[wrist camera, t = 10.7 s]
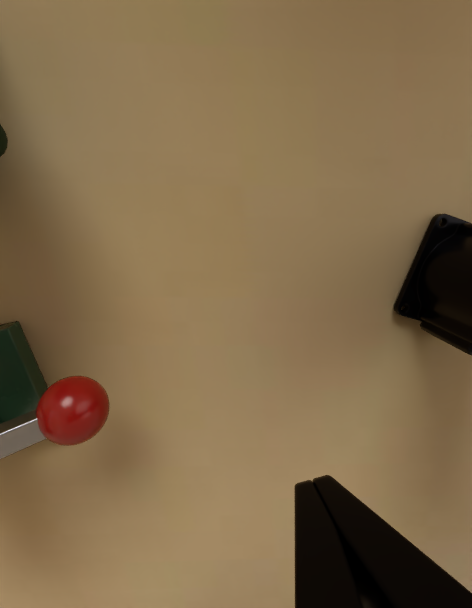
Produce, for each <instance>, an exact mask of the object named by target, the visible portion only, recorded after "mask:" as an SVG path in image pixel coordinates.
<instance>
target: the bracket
mask: <svg viewBox="0 0 472 608" xmlns="http://www.w3.org/2000/svg"><path fill="white" fill-rule="evenodd" d="M46 389H48V388H47V386H46V383H45V381H44V379H43V376H42V374H41V372H40V370H39V367H38V365H37V363H36V360H35V358H34V356H33V354H32V351H31V349H30V347H29V344H28V342H27V340H26V338H25V335H24V333H23V331H22V328H21V326H20V324H19V322H17V321H16V322H12V323H7V324H3V325H0V424H1V423H3V422H6V421H8V420H11V419H13V418H16V417H18V416H21V415H23V414H25V413H28V412H30V411H33V410H35V409H36V408H37V404H38V402H39V400H40V398H41V396H42V395H43V393H44V392H45V391H46Z"/></svg>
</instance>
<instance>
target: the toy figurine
mask: <svg viewBox="0 0 472 608" xmlns="http://www.w3.org/2000/svg"><path fill="white" fill-rule="evenodd" d="M6 148H7V136H6V133H5V131H4V129H3V128H2V126H1V125H0V157H1V156H2V155H3V154H4V153H5V150H6Z"/></svg>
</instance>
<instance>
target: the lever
mask: <svg viewBox="0 0 472 608" xmlns="http://www.w3.org/2000/svg"><path fill="white" fill-rule="evenodd" d="M108 414H109V398H108V395H107V393H106V391H105V389H104V388H103V387H102V386H101V385H100V384H99V383H98V382H97V381H95V380H93V379H91V378H88V377H84V376H71V377H66V378H63V379H61V380H59V381H57V382H55V383H54V384H52V385H51V386H50V387H49V388H48V389H46V391H45V392H44V393H43V395H42V396H41V398H40V400H39V402H38V404H37V408H36V409H35V410H33V411H30V412H28V413H25V414H23V415H21V416H18V417H16V418H13V419H11V420H8V421H6V422H3V423H1V424H0V459H2V458H4V457H6V456H9V455H11V454H13V453H15V452H18V451H20V450H22V449H24V448H27V447H29V446H31V445H33V444H35V443H38V442H40V441H42V440H44V439H48V440H49V441H51V442H53V443H56V444H59V445H67V446H69V445H76V444H80V443H83V442H85V441H87V440H89V439H91V438H92V437H93V436H95V435H96V434H97V433H98V432H99V431H100V430H101V428H102V427H103V425H104V424H105V422H106V420H107V417H108Z"/></svg>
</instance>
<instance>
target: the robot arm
mask: <svg viewBox="0 0 472 608" xmlns="http://www.w3.org/2000/svg"><path fill="white" fill-rule="evenodd" d="M441 219H442V224H441V225H439V222H440V220H441ZM403 305H405V308H404V309H403V310H401V308H402V306H403ZM394 311H395V312H396V313H398V314H400V315H402V316H405V317H409V318H412V319H416V320H419V321H421V324H420V327H421V329H422V330H424V331H426V332H428V333H430V334H431V335H433V336H435V337H437V338H439V339H441V340H443V341H445V342H446V343H448V344H450V345H452V346H454V347H456V348H458V349H460V350H461V351H463V352H465V353H467V354H469V355H472V223H469V222H466V221H464V220H461V219H458V218H456V217H453V216H450V215H447V214H437V215H435V216H434V217H433V218H432V220H431V222H430V225H429V227H428V229H427V231H426V234H425V236H424V238H423V241H422V243H421V245H420V247H419V250H418V252H417V254H416V257H415V259H414V261H413V264H412V266H411V268H410V270H409V273H408V275H407V277H406V280H405V282H404V284H403V287H402V289H401V291H400V293H399V296H398V298H397V300H396V303H395V305H394ZM295 608H472V593H471V592H470V591H469V590H467V589H466V588H465V587H464V586H463V585H461V584H460V583H459V582H458V581H457V580H455V579H454V578H453V577H452V576H451V575H449V574H448V573H447V572H446V571H444V570H443V569H442V568H441V567H440V566H438V565H437V564H436V563H435V562H434V561H432V560H431V559H430V558H429V557H428V556H426V555H425V554H424V553H423V552H422V551H420V550H419V549H418V548H417V547H416V546H414V545H413V544H412V543H411V542H410V541H408V540H407V539H406V538H405V537H403V536H402V535H401V534H400V533H399V532H397V531H396V530H395V529H394V528H393V527H391V526H390V525H389V524H388V523H387V522H385V521H384V520H383V519H382V518H381V517H379V516H378V515H377V514H376V513H375V512H373V511H372V510H371V509H370V508H369V507H367V506H366V505H365V504H364V503H362V502H361V501H360V500H359V499H358V498H356V497H355V496H354V495H353V494H352V493H350V492H349V491H348V490H347V489H346V488H344V487H343V486H342V485H341V484H340V483H338V482H337V481H336V480H335V479H334V478H332V477H331V476H329V475H325V476H321V477H318V478H315V479H313V481H311V480H307V481H304V482H300V483H297V484H296V485H295Z"/></svg>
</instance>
